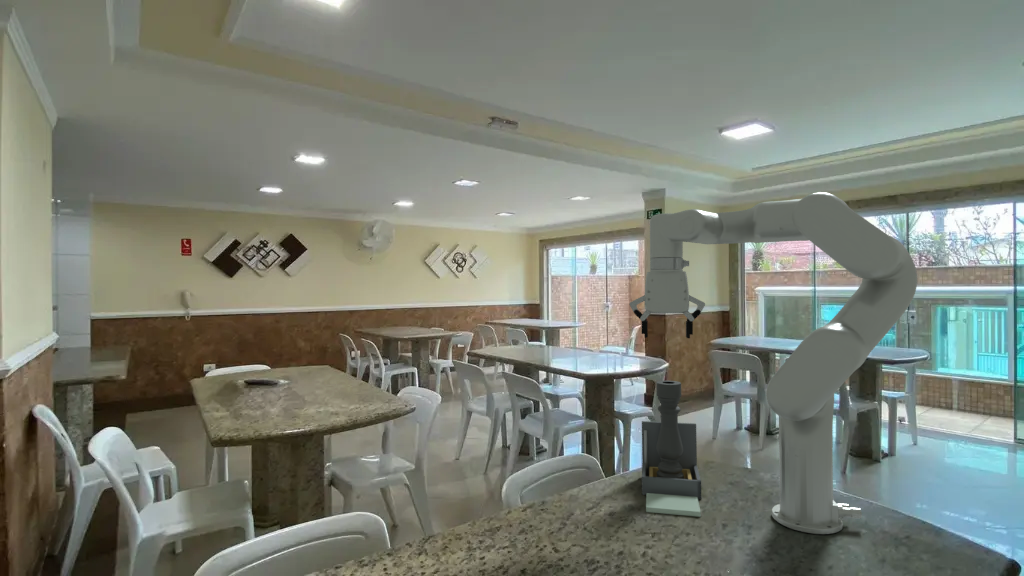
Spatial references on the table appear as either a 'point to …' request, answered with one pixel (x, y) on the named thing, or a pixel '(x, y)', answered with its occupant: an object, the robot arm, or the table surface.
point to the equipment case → (687, 461)
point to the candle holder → (669, 430)
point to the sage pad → (672, 504)
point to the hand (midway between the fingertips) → (666, 337)
